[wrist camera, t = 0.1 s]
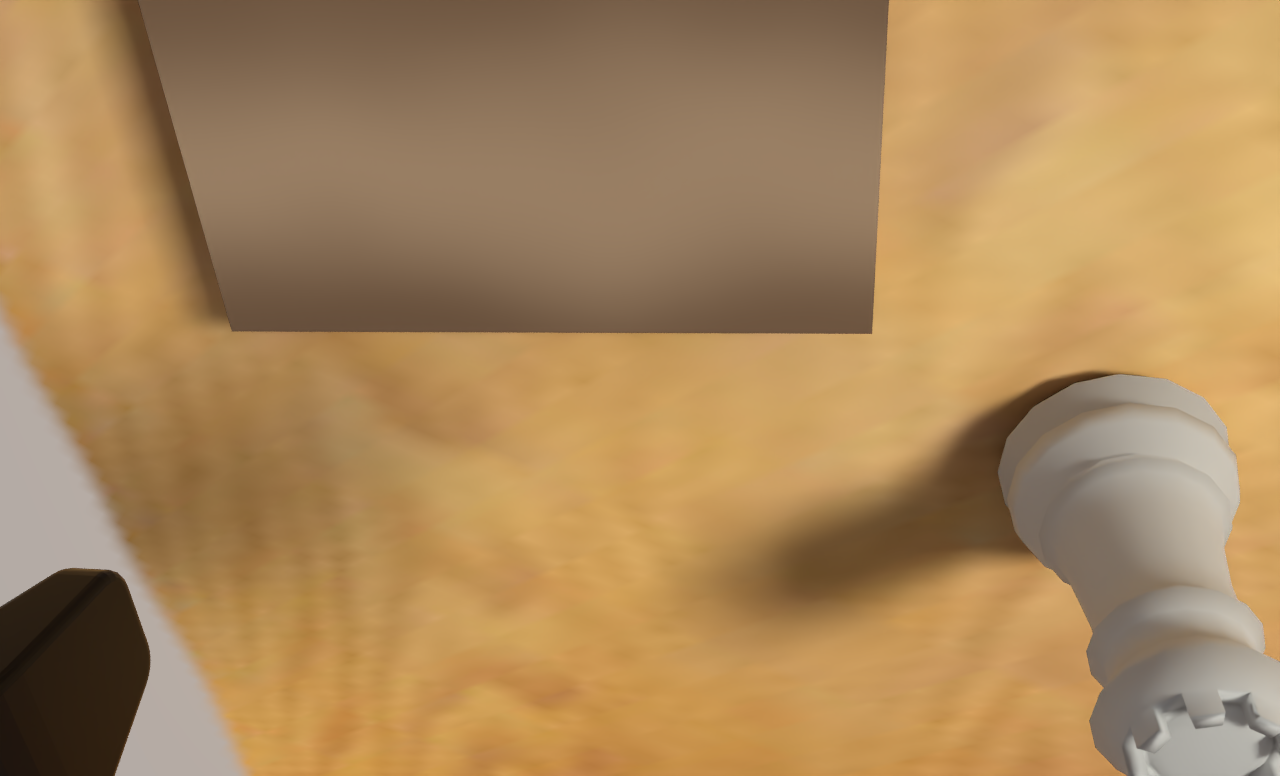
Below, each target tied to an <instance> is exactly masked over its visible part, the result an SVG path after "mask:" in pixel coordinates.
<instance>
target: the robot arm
mask: <svg viewBox="0 0 1280 776" xmlns="http://www.w3.org/2000/svg"><path fill="white" fill-rule="evenodd" d="M149 670H150V650H149V646H148V642H147V639H146V637H145V634H144V631H143V628H142V626H141V622H140V620H139V617H138V614H137V611H136V608H135V606H134V603H133V600H132V597H131V594H130V591H129V589H128V586H127V584H126V582H125V580H124V579H123V578H122V577H121V576H120V575H119V574H118V573H117V572H113V571H111V570H100V569H80V568H70V569H63V570H60V571H58V572H56V573H54V574H52V575H51V576H49V577H47V578H46V579H44V580H43V581H41V582H39V583H38V584H36V585H35V586H33V587H32V588H30V589H28V590H27V591H25V592H23V593H22V594H20V595H19V596H17V597H16V598H14V599H12V600H11V601H9V602H7V603H6V604H4V605H3V606H1V607H0V776H115V773H116V770H117V767H118V764H119V761H120V758H121V755H122V753H123V750H124V747H125V744H126V741H127V738H128V735H129V733H130V729H131V727H132V724H133V721H134V718H135V715H136V712H137V710H138V706H139V704H140V701H141V698H142V695H143V692H144V689H145V686H146V683H147V680H148V676H149Z"/></svg>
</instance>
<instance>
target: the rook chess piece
mask: <svg viewBox="0 0 1280 776" xmlns="http://www.w3.org/2000/svg"><path fill="white" fill-rule="evenodd" d="M998 476H999V480H1000V484H1001V489H1002V493H1003V497H1004V501H1005V505H1006V506H1007V507H1008V508H1009V510H1010V514H1011V518H1012V522H1013V526H1014V530H1015V532H1016V533H1017V535H1018V536H1019V538H1020V539H1021V540H1022V542H1023V543H1024V544H1025V545H1026V546H1027V547H1028V548H1029V549H1030V551H1031V552H1032V553H1033V554H1034V555H1035V556H1036V557H1037V558H1038V559H1039V561H1040V562H1041V563H1042V564H1043V565H1044V566H1045V567H1047V568H1049V569H1051V570H1053V571H1054V572H1055V573H1056V574H1057V575H1058V576H1059V577H1060V579H1061V580H1062V581H1063V582H1065V583H1067V584H1069V585H1071V587H1072V589H1073V591H1074V593H1075V595H1076V597H1077V599H1078V601H1079V603H1080V605H1081V607H1082V609H1083V611H1084V613H1085V616H1086V618H1087V620H1088V622H1089V624H1090V626H1091V628H1092V632H1093V635H1092V637H1091V640H1090V643H1089V646H1088V648H1087V651H1086V652H1087V657H1088V662H1089V666H1090V671H1091V674H1092V676H1093V677H1094V678H1095V679H1096V680H1097V681H1098V682H1099V683H1100V684H1101V685H1102V686H1103V687H1104V689H1103V690H1102V691H1101V692H1100V694H1099V697H1098V700H1097V702H1096V705H1095V707H1094V710H1093V713H1092V715H1091V718H1090V720H1089V721H1090V726H1091V730H1092V735H1093V739H1094V744H1095V748H1096V749H1097V750H1098V751H1099V752H1100V753H1101V754H1102V755H1103V756H1104V757H1105V758H1106V759H1107V760H1108V761H1109V762H1110V763H1111V764H1112V765H1113V766H1114V767H1115V768H1116V769H1117V770H1119V771H1120V772H1122V773H1124V774H1126V775H1127V776H1280V662H1279V661H1277V660H1275V659H1273V658H1271V657H1269V656H1267V655H1264V654H1263V652H1264V650H1265V640H1264V631H1263V624H1262V623H1261V622H1260V620H1259V619H1258V618H1257V617H1256V615H1255V614H1254V613H1253V612H1252V611H1251V609H1250V608H1249V607H1248V606H1247V604H1245V603H1243V602H1241V601H1239V600H1238V599H1237V597H1236V594H1235V592H1234V589H1233V587H1232V584H1231V579H1230V574H1229V569H1228V565H1227V560H1226V555H1225V550H1224V547H1225V544H1226V542H1227V539H1228V537H1229V535H1230V532H1231V530H1232V520H1233V518H1234V515H1235V513H1236V511H1237V508H1238V506H1239V504H1240V486H1239V478H1238V469H1237V460H1236V455H1235V454H1234V452H1233V451H1232V450H1231V448H1230V447H1229V443H1228V435H1227V427H1226V426H1225V425H1224V423H1223V422H1222V421H1221V419H1220V418H1219V417H1218V415H1217V414H1216V413H1215V411H1214V410H1213V409H1212V408H1211V406H1210V405H1209V404H1208V402H1207V401H1206V400H1205V398H1203V397H1201V396H1199V395H1197V394H1195V393H1193V392H1191V391H1189V390H1187V389H1185V388H1183V387H1181V386H1179V385H1177V384H1176V383H1174V382H1172V381H1170V380H1168V379H1162V378H1152V377H1143V376H1133V375H1123V374H1117V375H1110V376H1106V377H1101V378H1096V379H1091V380H1087V381H1082V382H1077V383H1074V384H1072V385H1070V386H1068V387H1067V388H1065V389H1063V390H1061V391H1060V392H1058V393H1056V394H1054V395H1053V396H1051V397H1049V398H1047V399H1046V400H1044V401H1042V402H1040V403H1039V404H1037V405H1035V406H1034V407H1033V408H1032V409H1031V410H1030V411H1029V412H1028V414H1027V415H1026V416H1025V417H1024V418H1023V420H1022V421H1021V422H1020V423H1019V424H1018V425H1017V427H1016V428H1015V429H1014V430H1013V431H1012V433H1011V434H1010V435H1009V436H1008V437H1007V440H1006V443H1005V447H1004V451H1003V454H1002V458H1001V462H1000V465H999V469H998Z"/></svg>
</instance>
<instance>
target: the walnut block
mask: <svg viewBox="0 0 1280 776" xmlns="http://www.w3.org/2000/svg"><path fill="white" fill-rule="evenodd" d="M138 3H139V6H140V10H141V13H142V17H143V20H144V24H145V27H146V31H147V34H148V38H149V41H150V45H151V49H152V52H153V56H154V59H155V63H156V66H157V70H158V73H159V77H160V80H161V84H162V87H163V91H164V94H165V98H166V101H167V105H168V108H169V112H170V115H171V119H172V122H173V126H174V130H175V133H176V137H177V140H178V144H179V147H180V151H181V154H182V158H183V161H184V165H185V168H186V172H187V175H188V179H189V182H190V186H191V189H192V193H193V196H194V200H195V203H196V207H197V211H198V214H199V218H200V221H201V225H202V228H203V232H204V235H205V239H206V242H207V246H208V249H209V253H210V256H211V260H212V263H213V267H214V270H215V274H216V277H217V281H218V284H219V288H220V291H221V295H222V299H223V302H224V306H225V309H226V313H227V316H228V320H229V323H230V327H231V330H232V331H285V332H554V333H824V334H872V322H873V303H874V283H875V263H876V243H877V223H878V203H879V184H880V164H881V144H882V124H883V104H884V85H885V65H886V45H887V25H888V5H889V0H138Z"/></svg>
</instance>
